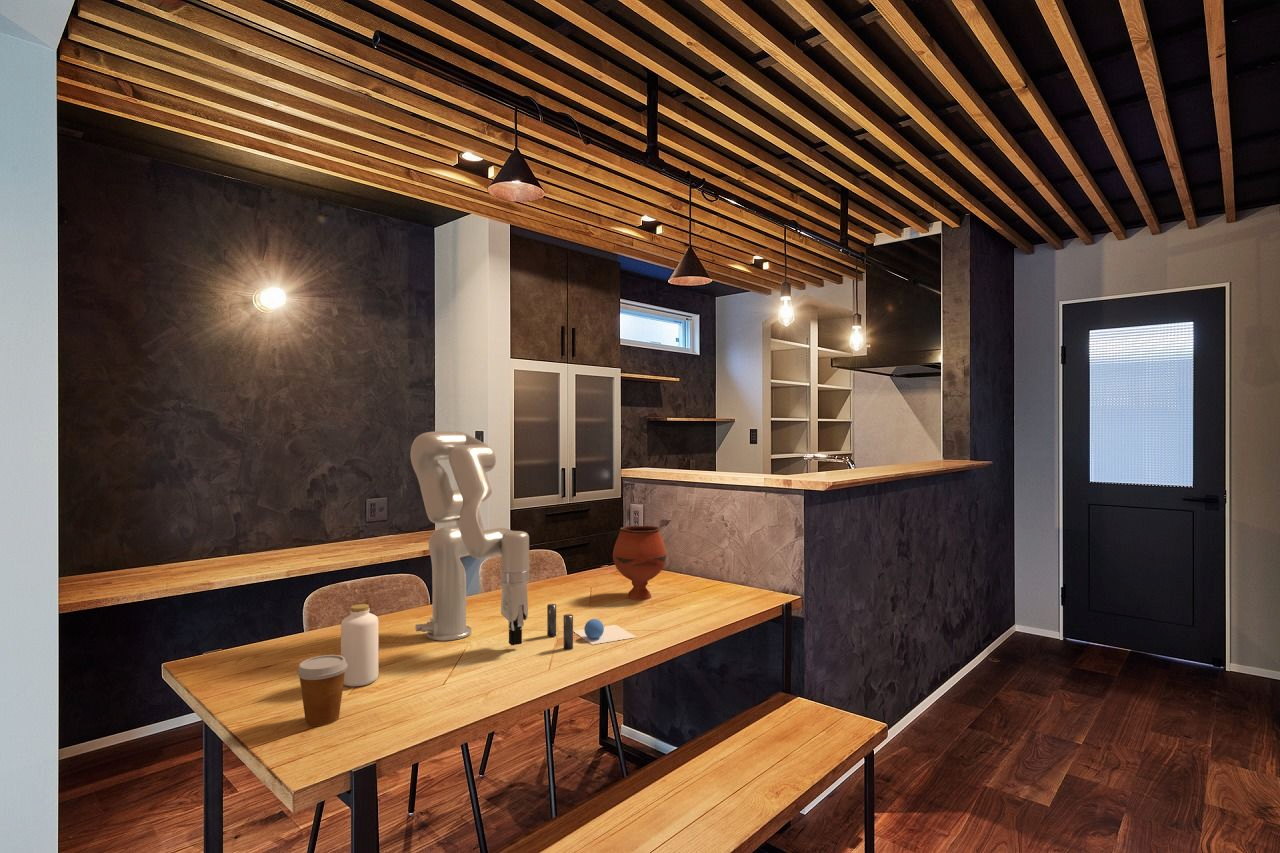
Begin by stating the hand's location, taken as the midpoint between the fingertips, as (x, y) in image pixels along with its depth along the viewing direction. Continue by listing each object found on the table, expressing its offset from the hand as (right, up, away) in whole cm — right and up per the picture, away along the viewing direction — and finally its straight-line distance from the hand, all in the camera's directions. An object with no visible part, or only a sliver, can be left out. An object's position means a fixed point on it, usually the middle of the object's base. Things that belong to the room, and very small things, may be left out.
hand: (515, 643), depth 183 cm
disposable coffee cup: (-32, -2, -44) cm, 55 cm away
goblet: (+34, -2, +57) cm, 66 cm away
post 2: (+14, -2, +1) cm, 15 cm away
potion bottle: (-33, -2, -23) cm, 40 cm away
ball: (+21, +1, +9) cm, 23 cm away
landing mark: (+24, -2, +13) cm, 27 cm away
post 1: (+8, -2, +12) cm, 15 cm away
